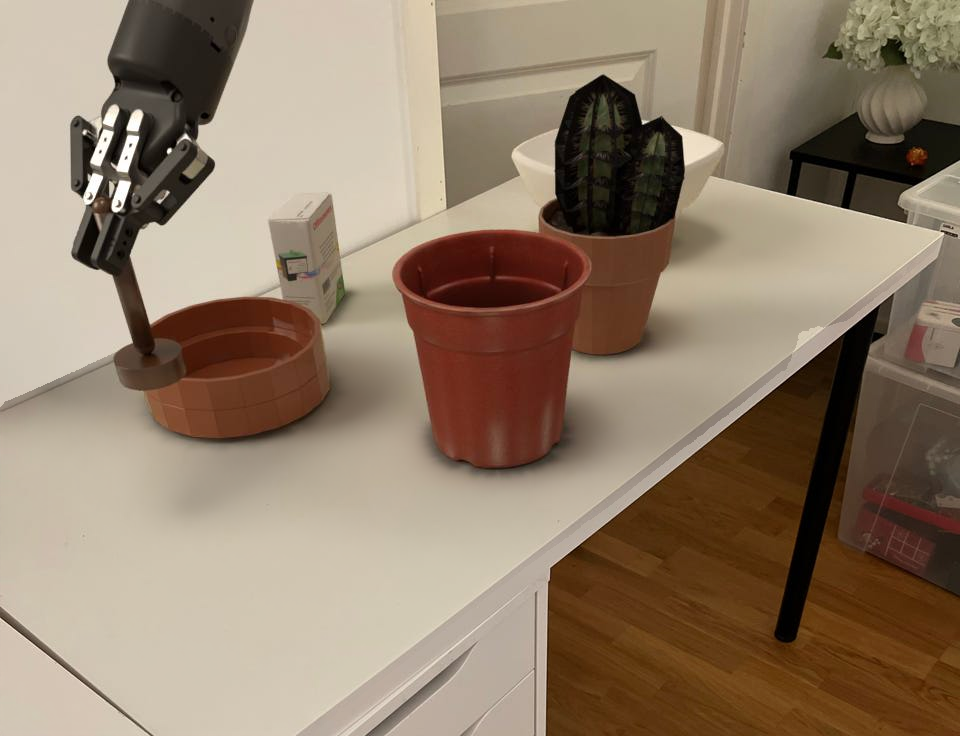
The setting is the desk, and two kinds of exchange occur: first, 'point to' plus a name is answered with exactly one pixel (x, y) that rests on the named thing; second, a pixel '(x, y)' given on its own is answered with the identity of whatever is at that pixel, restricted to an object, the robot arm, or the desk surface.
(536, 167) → the bowl
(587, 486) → the desk surface
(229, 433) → the shallow terracotta planter
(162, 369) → the brown peg stand
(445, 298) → the flower pot
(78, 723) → the desk surface
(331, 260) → the ink box
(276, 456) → the desk surface
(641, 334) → the potted plant
